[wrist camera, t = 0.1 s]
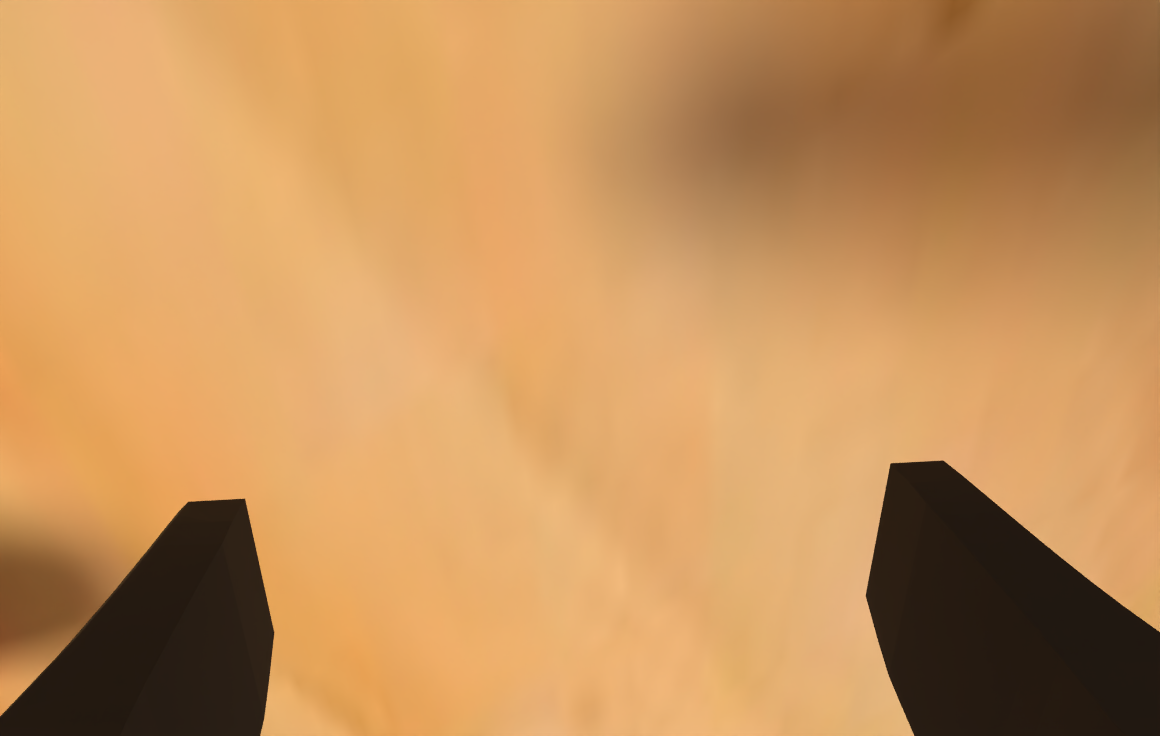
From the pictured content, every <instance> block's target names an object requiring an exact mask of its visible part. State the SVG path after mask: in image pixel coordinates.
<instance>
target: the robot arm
mask: <svg viewBox="0 0 1160 736" xmlns="http://www.w3.org/2000/svg"><path fill="white" fill-rule="evenodd" d="M866 598H867V602H868V605H869V609H870V613H871V616H872V620H873V624H874V627H875V631H876V635H877V638H878V642H879V645H880V648H881V651H882V655H883V658H884V661H885V665H886V668H887V671H888V674H889V677H890V680H891V682H892V684H893V687H894V689H895V692H896V694H897V696H898V699H899V701H900V703H901V706H902V708H903V710H904V713H905V715H906V717H907V720H908V722H909V724H910V726H911V729H912V731H913V733H914V736H1160V632H1159V631H1157V630H1156V629H1155V628H1153V627H1152V626H1150V625H1149V624H1148V623H1146V622H1145V621H1143V620H1142V619H1141V618H1139V617H1138V616H1136V615H1135V614H1134V613H1132V612H1131V611H1129V610H1128V609H1127V608H1125V607H1124V606H1123V605H1121V604H1120V603H1119V602H1117V601H1116V600H1115V599H1113V598H1112V597H1111V596H1109V595H1108V594H1107V593H1105V592H1104V591H1103V590H1101V589H1100V588H1099V587H1097V586H1096V585H1095V584H1094V583H1092V582H1091V581H1090V580H1088V579H1087V578H1086V577H1085V576H1083V575H1082V574H1081V573H1080V572H1078V571H1077V570H1076V569H1074V568H1073V567H1072V566H1071V565H1069V564H1068V563H1067V562H1066V561H1064V560H1063V559H1062V558H1061V557H1059V556H1058V555H1057V554H1056V553H1054V552H1053V551H1052V550H1051V549H1050V548H1048V547H1047V546H1046V545H1045V544H1044V543H1042V542H1041V541H1040V540H1039V539H1037V538H1036V537H1035V536H1034V535H1033V534H1031V533H1030V532H1029V531H1028V530H1027V529H1025V528H1024V527H1023V526H1022V525H1021V524H1019V523H1018V522H1017V521H1016V520H1015V519H1013V518H1012V517H1011V516H1010V515H1009V514H1007V513H1006V512H1005V511H1004V510H1003V509H1001V508H1000V507H999V506H998V505H997V504H996V503H994V502H993V501H992V500H991V499H990V498H988V497H987V496H986V495H985V494H984V493H982V492H981V491H980V490H979V489H978V488H976V487H975V486H974V485H973V484H972V483H970V482H969V481H968V480H967V479H966V478H964V477H963V476H962V475H961V474H960V473H958V472H957V471H956V470H955V469H953V468H952V467H951V466H949V465H948V464H947V463H946V462H944V461H927V462H909V463H891V464H890V470H889V475H888V480H887V485H886V491H885V496H884V501H883V507H882V512H881V517H880V523H879V528H878V533H877V539H876V544H875V549H874V554H873V560H872V565H871V570H870V576H869V581H868V586H867V592H866ZM273 639H274V630H273V625H272V621H271V616H270V611H269V607H268V602H267V598H266V593H265V588H264V584H263V579H262V575H261V570H260V566H259V561H258V556H257V552H256V547H255V543H254V538H253V534H252V529H251V524H250V520H249V515H248V511H247V506H246V501H245V499H232V500H214V501H196V502H188V503H187V504H186V505H185V506H184V507H183V508H182V509H181V510H180V511H179V512H178V513H177V515H176V516H175V517H174V518H173V519H172V521H171V522H170V523H169V524H168V526H167V527H166V528H165V529H164V531H163V532H162V533H161V534H160V536H159V537H158V538H157V539H156V541H155V542H154V543H153V544H152V545H151V547H150V548H149V549H148V550H147V552H146V553H145V554H144V555H143V557H142V558H141V559H140V560H139V562H138V563H137V564H136V565H135V567H134V568H133V569H132V570H131V571H130V573H129V574H128V575H127V576H126V577H125V579H124V580H123V581H122V582H121V584H120V585H119V586H118V587H117V588H116V590H115V591H114V592H113V593H112V594H111V596H110V597H109V598H108V599H107V600H106V601H105V603H104V604H103V605H102V606H101V607H100V608H99V610H98V611H97V612H96V613H95V614H94V615H93V616H92V618H91V619H90V620H89V621H88V622H87V623H86V625H85V626H84V627H83V628H82V629H81V630H80V631H79V633H78V634H77V635H76V636H75V637H74V638H73V640H72V641H71V642H70V643H69V644H68V645H67V646H66V647H65V649H64V650H63V651H62V652H61V653H60V654H59V655H58V656H57V657H56V659H55V660H54V661H53V662H52V663H51V664H50V665H49V666H48V667H47V668H46V669H45V670H44V671H43V672H42V673H41V674H40V675H39V676H38V677H37V678H36V680H35V681H34V682H33V683H32V684H31V685H30V686H29V687H28V688H27V689H26V690H25V691H24V692H23V693H22V694H21V695H20V696H19V697H18V698H17V700H16V701H15V702H14V703H13V704H12V705H11V706H10V707H9V708H8V709H7V710H6V711H5V712H4V713H3V714H2V715H1V716H0V736H260V734H261V729H262V725H263V721H264V715H265V708H266V700H267V692H268V684H269V676H270V666H271V657H272V648H273Z"/></svg>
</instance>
